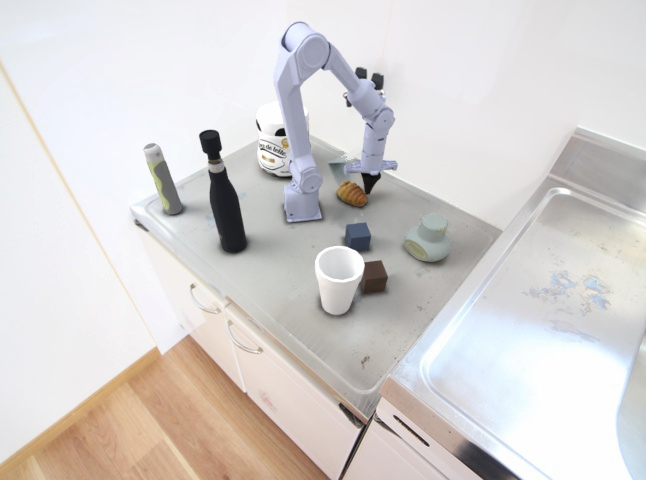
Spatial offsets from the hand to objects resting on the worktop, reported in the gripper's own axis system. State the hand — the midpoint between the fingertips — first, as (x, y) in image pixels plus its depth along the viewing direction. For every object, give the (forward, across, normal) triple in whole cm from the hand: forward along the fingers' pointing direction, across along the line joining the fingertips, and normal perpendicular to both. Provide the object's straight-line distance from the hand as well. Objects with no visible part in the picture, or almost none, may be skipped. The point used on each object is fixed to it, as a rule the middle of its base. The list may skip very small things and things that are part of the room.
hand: (366, 192), depth 99 cm
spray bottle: (+2, -56, +3) cm, 56 cm away
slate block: (+1, -8, -19) cm, 21 cm away
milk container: (+2, -22, +20) cm, 30 cm away
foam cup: (+2, -17, -36) cm, 40 cm away
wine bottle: (+2, -39, -14) cm, 41 cm away
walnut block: (+1, -8, -32) cm, 33 cm away
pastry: (+2, -4, 0) cm, 5 cm away
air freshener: (+2, +8, -24) cm, 25 cm away
